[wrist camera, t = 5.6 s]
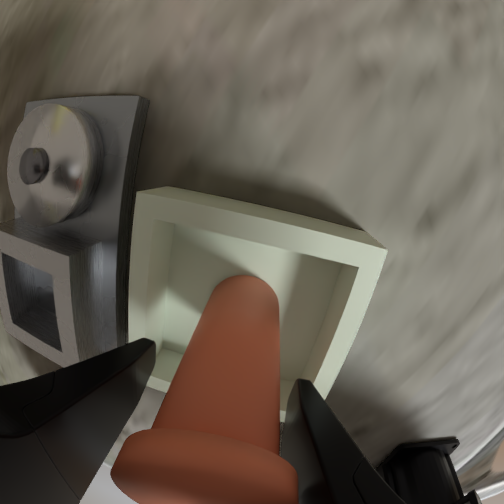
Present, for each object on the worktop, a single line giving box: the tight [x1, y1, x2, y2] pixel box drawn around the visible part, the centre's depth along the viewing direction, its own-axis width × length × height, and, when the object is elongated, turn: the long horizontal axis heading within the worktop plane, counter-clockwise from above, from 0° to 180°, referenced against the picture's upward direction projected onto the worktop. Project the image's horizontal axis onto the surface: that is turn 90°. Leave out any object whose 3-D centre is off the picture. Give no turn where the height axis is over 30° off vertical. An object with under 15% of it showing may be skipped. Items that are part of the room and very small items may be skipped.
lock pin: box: [110, 275, 299, 504], centre depth 8 cm, size 4×4×9 cm
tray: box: [128, 186, 388, 422], centre depth 12 cm, size 9×9×3 cm
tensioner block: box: [0, 96, 150, 367], centre depth 11 cm, size 8×13×4 cm, turn 168°
